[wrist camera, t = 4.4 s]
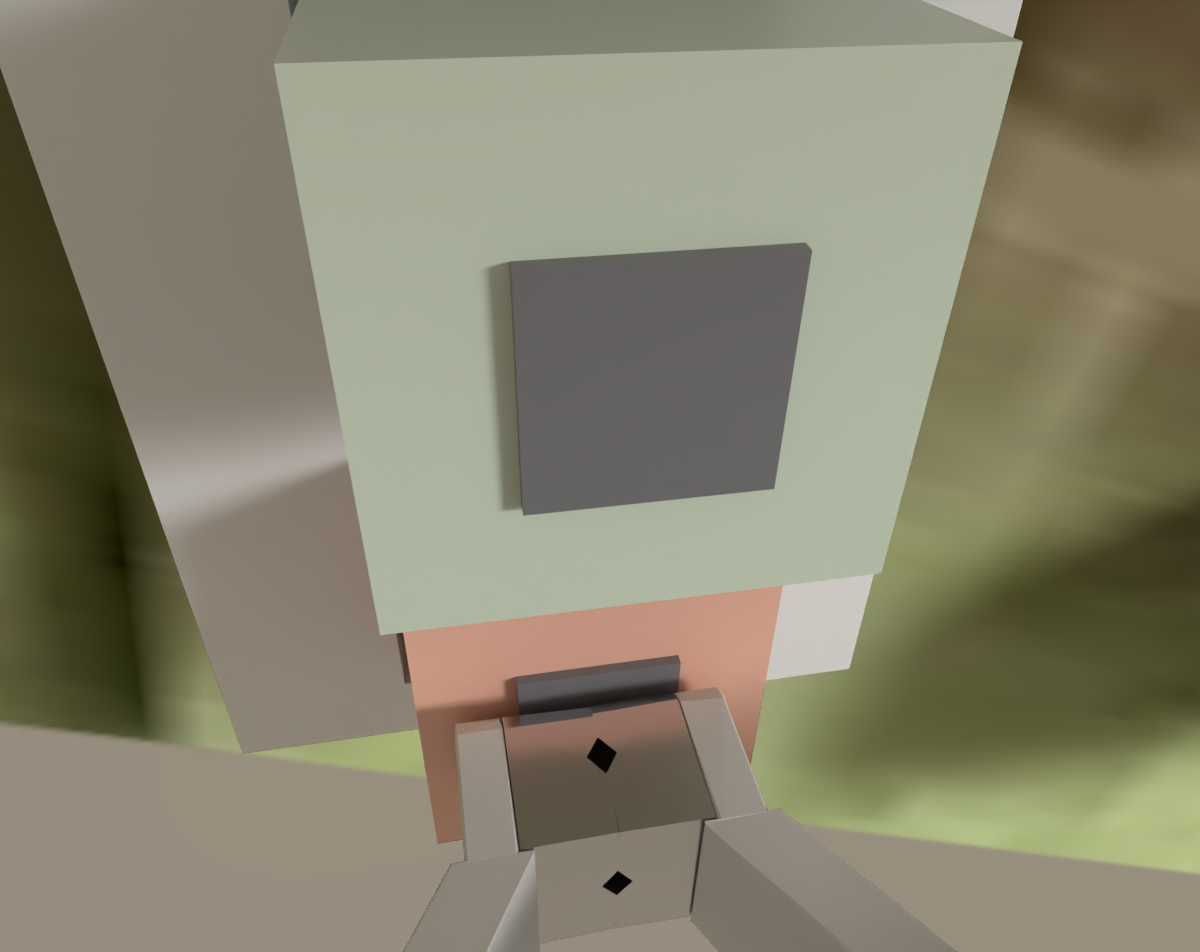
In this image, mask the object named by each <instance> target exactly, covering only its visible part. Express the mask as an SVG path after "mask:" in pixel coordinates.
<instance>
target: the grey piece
mask: <svg viewBox="0 0 1200 952" xmlns="http://www.w3.org/2000/svg"><path fill="white" fill-rule="evenodd" d="M922 1H925V2H927V3H930V4H932V5H934V6H937V7H939V8H942V9H944V10H947V11H949V12H952V13H954V14H956V15H959V16H961V17H964V18H966V19H969V20H971V21H973V22H976V23H978V24H981V25H983V26H986V27H988V28H991V29H993V30H995V31H998V32H1000V33H1003V34H1005V35H1008V36H1010V37H1013V36H1014V32H1015V29H1016V25H1017V21H1018V17H1019V13H1020V9H1021V5H1022V2H1023V0H922ZM297 3H298V0H0V68H1V71H2V74H3V77H4V80H5V83H6V85H7V88H8V91H9V94H10V97H11V99H12V102H13V105H14V108H15V111H16V114H17V116H18V119H19V122H20V125H21V128H22V131H23V133H24V136H25V139H26V142H27V145H28V148H29V150H30V153H31V156H32V159H33V162H34V165H35V167H36V170H37V173H38V176H39V179H40V182H41V184H42V187H43V190H44V193H45V196H46V198H47V201H48V204H49V207H50V210H51V213H52V215H53V218H54V221H55V224H56V227H57V230H58V232H59V235H60V238H61V241H62V244H63V247H64V249H65V252H66V255H67V258H68V261H69V264H70V266H71V269H72V272H73V275H74V278H75V281H76V283H77V286H78V289H79V292H80V295H81V297H82V300H83V303H84V306H85V309H86V312H87V314H88V317H89V320H90V323H91V326H92V329H93V331H94V334H95V337H96V340H97V343H98V346H99V348H100V351H101V354H102V357H103V360H104V363H105V365H106V368H107V371H108V374H109V377H110V380H111V382H112V385H113V388H114V391H115V394H116V396H117V399H118V402H119V405H120V408H121V411H122V413H123V416H124V419H125V422H126V425H127V428H128V430H129V433H130V436H131V439H132V442H133V445H134V447H135V450H136V453H137V456H138V459H139V462H140V464H141V467H142V470H143V473H144V476H145V479H146V481H147V484H148V487H149V490H150V493H151V495H152V498H153V501H154V504H155V507H156V510H157V512H158V515H159V518H160V521H161V524H162V527H163V529H164V532H165V535H166V538H167V541H168V544H169V546H170V549H171V552H172V555H173V558H174V561H175V563H176V566H177V569H178V572H179V575H180V578H181V580H182V583H183V586H184V589H185V592H186V594H187V597H188V600H189V603H190V606H191V609H192V611H193V614H194V617H195V620H196V623H197V626H198V628H199V631H200V634H201V637H202V640H203V643H204V645H205V648H206V651H207V654H208V657H209V660H210V662H211V665H212V668H213V671H214V674H215V677H216V679H217V682H218V685H219V688H220V691H221V693H222V696H223V699H224V702H225V705H226V708H227V710H228V713H229V716H230V719H231V722H232V725H233V727H234V730H235V733H236V736H237V739H238V742H239V744H240V747H241V750H242V753H243V754H244V753H251V752H258V751H265V750H272V749H279V748H286V747H294V746H301V745H308V744H315V743H322V742H329V741H336V740H344V739H351V738H358V737H365V736H372V735H379V734H387V733H394V732H401V731H408V730H415V729H419V726H418V720H417V714H416V708H415V702H414V696H413V690H412V683H411V677H410V671H409V665H408V659H407V653H406V647H405V641H404V635H403V633H395V634H387V635H380V632H379V626H378V621H377V616H376V610H375V605H374V599H373V594H372V589H371V583H370V578H369V573H368V567H367V562H366V556H365V551H364V546H363V540H362V535H361V530H360V524H359V519H358V514H357V508H356V503H355V497H354V492H353V487H352V481H351V476H350V471H349V465H348V460H347V454H346V449H345V444H344V438H343V433H342V428H341V422H340V417H339V412H338V406H337V401H336V395H335V390H334V385H333V379H332V374H331V369H330V363H329V358H328V352H327V347H326V342H325V336H324V331H323V326H322V320H321V315H320V310H319V304H318V299H317V293H316V288H315V283H314V277H313V272H312V267H311V261H310V256H309V250H308V245H307V240H306V234H305V229H304V224H303V218H302V213H301V207H300V202H299V197H298V191H297V186H296V181H295V175H294V170H293V165H292V159H291V154H290V148H289V143H288V138H287V132H286V127H285V122H284V116H283V111H282V105H281V100H280V95H279V89H278V84H277V79H276V73H275V68H274V62H275V59H276V57H277V54H278V51H279V49H280V46H281V44H282V41H283V39H284V36H285V34H286V31H287V29H288V26H289V23H290V21H291V18H292V16H293V13H294V11H295V8H296V6H297ZM873 575H874V574H872V575H864V576H856V577H848V578H839V579H831V580H823V581H815V582H807V583H799V584H791V585H783V588H782V594H781V599H780V605H779V610H778V616H777V621H776V627H775V632H774V638H773V643H772V649H771V654H770V660H769V665H768V671H767V676H766V680H772V679H780V678H787V677H794V676H801V675H808V674H815V673H822V672H830V671H837V670H844V669H849V668H850V664H851V660H852V656H853V653H854V649H855V645H856V641H857V637H858V633H859V629H860V626H861V622H862V618H863V614H864V610H865V606H866V602H867V599H868V595H869V591H870V587H871V583H872V579H873Z"/></svg>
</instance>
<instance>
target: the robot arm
mask: <svg viewBox="0 0 1200 952" xmlns="http://www.w3.org/2000/svg"><path fill="white" fill-rule="evenodd" d="M455 748H456V760H457V773H458V786H459V798H460V811H461V824H462V836H463V848H464V861H462V862H457V863H452V864H450V866H449V868H448V870H447V872H446V873H445V875H444V877H443V879H442V881H441V883H440V884H439V886H438V888H437V890H436V892H435V894H434V896H433V898H432V899H431V901H430V903H429V905H428V906H427V908H426V911H425V912H424V914H423V916H422V917H421V919H420V921H419V923H418V925H417V927H416V929H415V930H414V933H413V934H412V936H411V938H410V940H409V941H408V943H407V945H406V947H405V949H404V951H403V952H539V951H540V944H543V943H548V942H553V941H557V940H562V939H567V938H572V937H576V936H581V935H586V934H590V933H595V932H600V931H604V930H609V929H614V928H620V927H627V926H633V925H639V924H646V923H652V922H659V921H665V920H671V919H678V918H684V917H691V921H692V923H693V924H694V925H695V926H696V927H697V928H698V929H699V930H700V931H701V933H702V934H703V935H704V936H705V937H706V938H707V939H708V940H709V942H710V943H711V944H712V945H713V946H714V947H715V948H716V949H717V950H718V952H957V951H955V950H954V949H953V948H952V947H950V946H949V945H948V944H947V943H946V942H944V941H943V940H942V939H941V938H939V937H938V936H937V935H935V934H934V933H933V932H932V931H931V930H929V929H928V928H927V927H926V926H925V925H923V924H922V923H921V922H919V921H918V920H917V919H916V918H915V917H913V916H912V915H911V914H910V913H908V912H907V911H906V910H905V909H904V908H902V907H901V906H900V905H899V904H898V903H896V902H895V901H894V900H892V899H891V898H890V897H889V896H888V895H886V894H885V893H884V892H883V891H881V890H880V889H879V888H878V887H877V886H875V885H874V884H873V883H872V882H870V881H869V880H868V879H867V878H865V877H864V876H863V875H862V874H860V873H859V872H858V871H857V870H856V869H854V868H853V867H852V866H850V865H849V864H848V863H847V862H846V861H844V860H843V859H842V858H841V857H839V856H838V855H837V854H836V853H835V852H833V851H832V850H831V849H830V848H828V847H827V846H826V845H825V844H824V843H822V842H821V841H820V840H819V839H817V838H816V837H815V836H814V835H812V834H811V833H810V832H808V831H807V830H806V829H805V828H804V827H803V826H801V825H800V824H799V823H798V822H796V821H795V820H794V819H793V818H791V817H790V816H789V815H788V814H787V813H785V812H784V811H783V810H782V809H775V810H767V807H766V804H765V802H764V799H763V797H762V794H761V791H760V789H759V786H758V784H757V781H756V779H755V776H754V773H753V771H752V768H751V766H750V763H749V760H748V758H747V755H746V753H745V750H744V747H743V745H742V742H741V740H740V737H739V734H738V732H737V729H736V727H735V724H734V721H733V719H732V716H731V714H730V711H729V708H728V706H727V703H726V701H725V698H724V695H723V694H722V693H721V691H720V690H719V689H718V688H717V687H712V688H705V689H699V690H692V691H685V692H679V693H674V694H672V693H665V694H658V695H652V696H646V697H639V698H633V699H627V700H621V701H614V702H608V703H602V704H595V705H589V706H588V707H587V708H580V709H571V710H562V711H554V712H545V713H537V714H528V715H520V716H511V717H503V718H502V723H501V718H495V719H488V720H480V721H473V722H466V723H458V724H456V725H455Z"/></svg>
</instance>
